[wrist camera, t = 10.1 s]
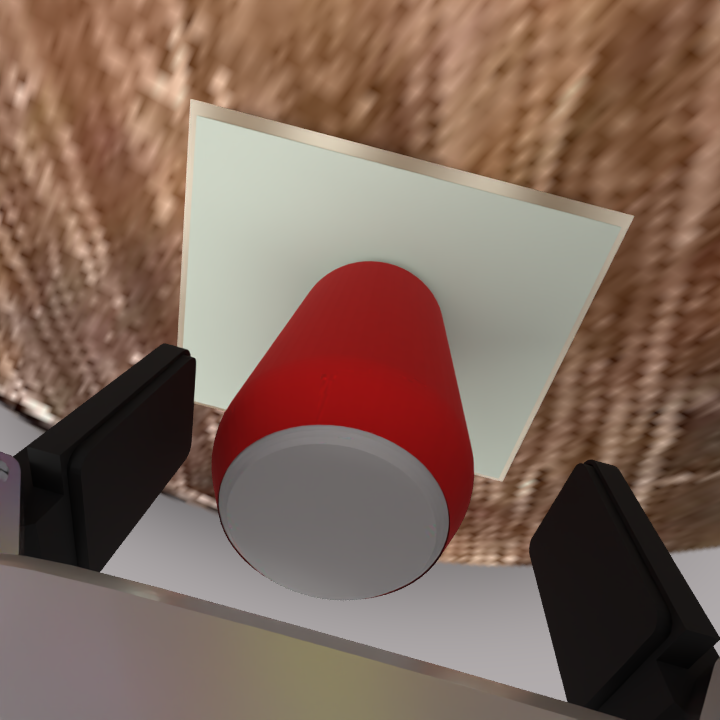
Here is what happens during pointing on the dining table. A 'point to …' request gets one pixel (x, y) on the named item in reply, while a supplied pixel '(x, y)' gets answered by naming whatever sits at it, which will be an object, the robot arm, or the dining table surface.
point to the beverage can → (348, 441)
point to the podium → (383, 260)
